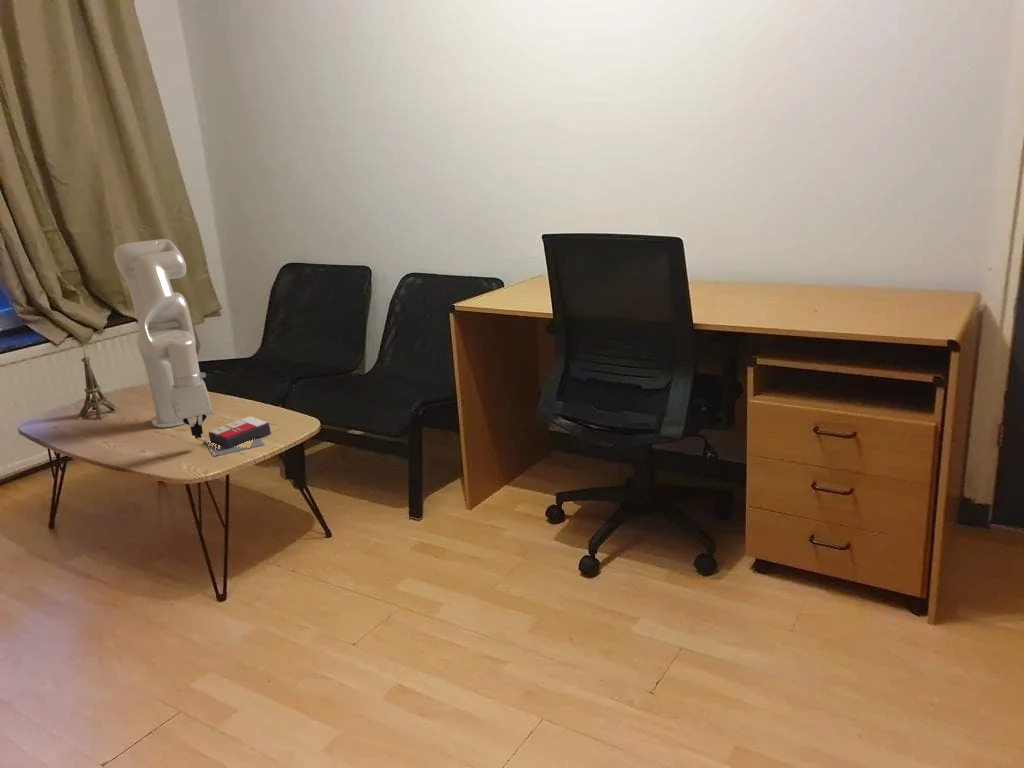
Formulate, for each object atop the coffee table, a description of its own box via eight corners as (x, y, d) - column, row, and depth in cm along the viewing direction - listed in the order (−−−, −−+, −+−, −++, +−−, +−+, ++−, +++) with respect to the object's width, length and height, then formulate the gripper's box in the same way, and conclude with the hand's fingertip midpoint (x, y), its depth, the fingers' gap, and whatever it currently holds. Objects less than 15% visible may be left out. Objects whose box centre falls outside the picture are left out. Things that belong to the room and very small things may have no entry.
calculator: (207, 430, 247) (250, 414, 257) (210, 443, 249) (253, 426, 259) (224, 438, 240) (268, 420, 250) (228, 451, 241) (271, 433, 252)
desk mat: (203, 440, 250) (203, 440, 250) (252, 429, 257) (252, 429, 257) (213, 456, 236) (213, 456, 236) (264, 444, 243) (264, 444, 243)
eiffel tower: (96, 409, 288) (80, 342, 280) (121, 409, 285) (106, 342, 278) (75, 420, 278) (58, 350, 270) (101, 420, 275) (85, 350, 268)
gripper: (211, 371, 243) (221, 427, 249) (158, 381, 236) (169, 438, 242) (216, 378, 236) (226, 435, 243) (162, 388, 230) (173, 446, 236)
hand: (197, 436), depth 242 cm, fingers closed
